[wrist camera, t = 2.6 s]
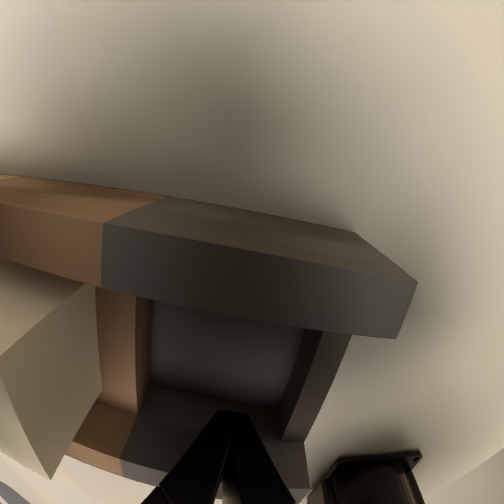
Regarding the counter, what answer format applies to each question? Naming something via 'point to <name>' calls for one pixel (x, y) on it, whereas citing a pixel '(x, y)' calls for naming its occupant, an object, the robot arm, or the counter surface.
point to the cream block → (45, 364)
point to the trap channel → (202, 315)
